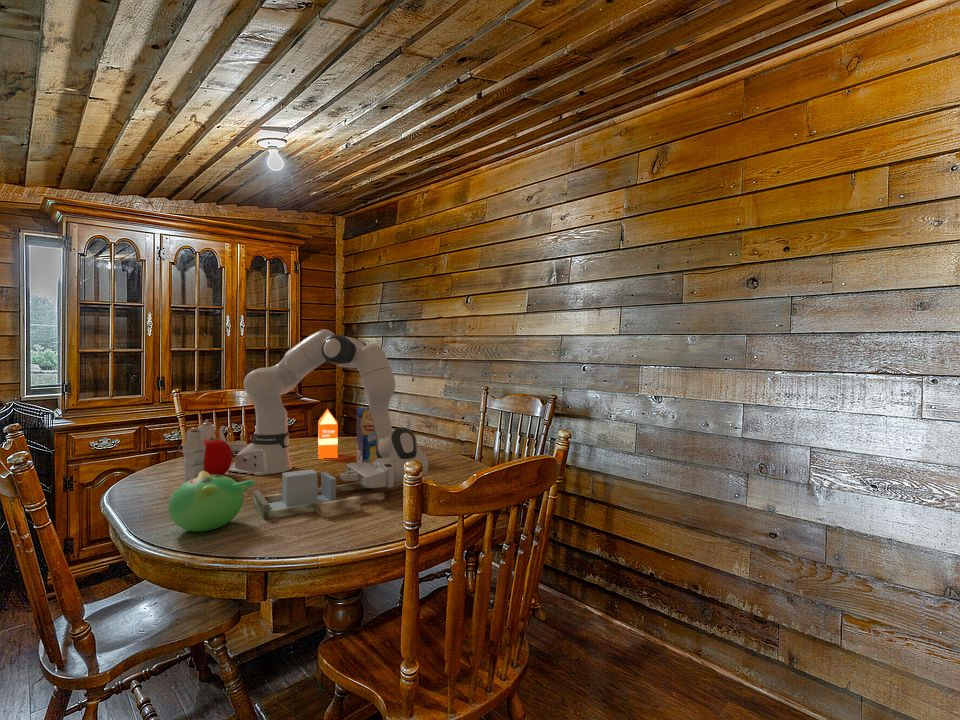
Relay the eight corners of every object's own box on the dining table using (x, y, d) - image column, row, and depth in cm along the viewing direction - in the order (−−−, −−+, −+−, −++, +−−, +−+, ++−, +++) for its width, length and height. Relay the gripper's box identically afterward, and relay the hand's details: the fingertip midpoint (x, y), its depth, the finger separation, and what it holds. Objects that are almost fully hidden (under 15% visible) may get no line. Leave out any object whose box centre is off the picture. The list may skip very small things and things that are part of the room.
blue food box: (388, 461, 214) (388, 408, 213) (362, 465, 208) (362, 409, 207) (381, 458, 220) (381, 406, 219) (356, 461, 214) (356, 407, 213)
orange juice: (336, 453, 227) (336, 408, 226) (337, 458, 218) (338, 410, 217) (317, 454, 224) (317, 408, 223) (318, 459, 216) (318, 411, 215)
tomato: (188, 480, 182) (187, 440, 181) (200, 472, 193) (199, 434, 193) (226, 479, 184) (226, 439, 183) (236, 471, 195) (236, 433, 195)
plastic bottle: (211, 491, 170) (210, 430, 169) (191, 497, 163) (191, 433, 163) (197, 489, 172) (197, 428, 171) (178, 494, 166) (177, 432, 165)
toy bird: (214, 513, 149) (214, 462, 149) (259, 522, 143) (259, 469, 142) (154, 535, 133) (153, 477, 132) (202, 546, 126) (201, 486, 126)
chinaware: (251, 455, 228) (252, 417, 229) (239, 460, 211) (240, 419, 212) (182, 456, 224) (184, 417, 225) (164, 462, 207) (166, 419, 208)
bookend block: (325, 496, 167) (326, 465, 167) (336, 504, 159) (336, 472, 159) (266, 506, 157) (266, 473, 157) (274, 515, 149) (274, 480, 149)
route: (365, 486, 178) (365, 475, 178) (393, 505, 159) (393, 492, 159) (252, 503, 158) (252, 490, 158) (269, 527, 139) (269, 512, 139)
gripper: (370, 456, 181) (330, 460, 173) (395, 468, 164) (352, 474, 156) (370, 474, 181) (330, 479, 173) (395, 488, 164) (352, 495, 156)
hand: (341, 477), depth 165 cm, fingers closed
